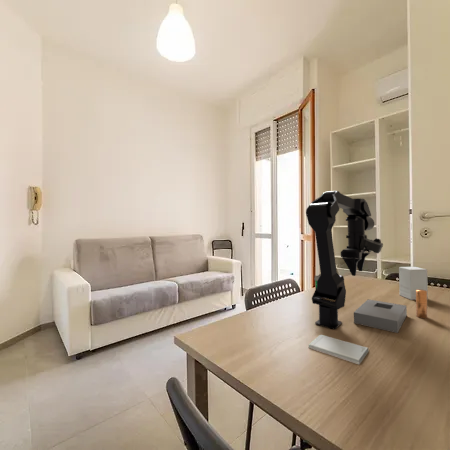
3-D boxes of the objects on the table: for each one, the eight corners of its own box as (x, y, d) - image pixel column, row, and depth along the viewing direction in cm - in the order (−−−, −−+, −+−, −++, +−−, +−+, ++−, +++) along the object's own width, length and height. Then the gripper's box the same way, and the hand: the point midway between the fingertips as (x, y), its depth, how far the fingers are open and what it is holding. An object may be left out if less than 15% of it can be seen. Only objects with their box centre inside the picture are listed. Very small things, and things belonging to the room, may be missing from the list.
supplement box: (428, 299, 106) (428, 269, 106) (410, 300, 106) (409, 269, 106) (415, 294, 114) (415, 266, 114) (398, 295, 114) (398, 266, 114)
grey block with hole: (397, 332, 76) (397, 321, 76) (353, 322, 84) (353, 312, 84) (406, 315, 89) (406, 305, 89) (368, 308, 98) (368, 299, 97)
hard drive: (368, 347, 66) (320, 333, 74) (359, 360, 60) (308, 343, 68) (368, 353, 66) (320, 339, 74) (359, 367, 60) (308, 349, 68)
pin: (426, 319, 86) (426, 292, 86) (415, 316, 88) (415, 290, 88) (427, 316, 88) (427, 290, 88) (416, 314, 90) (416, 288, 90)
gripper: (374, 234, 85) (376, 281, 86) (385, 230, 99) (386, 270, 100) (339, 234, 93) (340, 277, 93) (354, 230, 106) (355, 268, 107)
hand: (357, 273), depth 98 cm, fingers open, 9 cm apart
